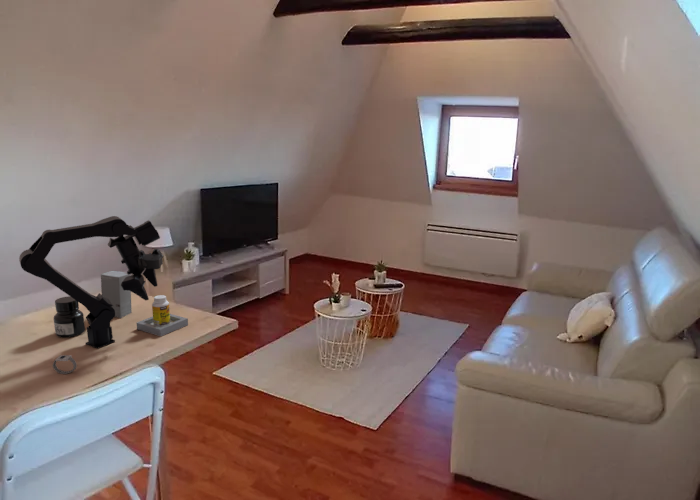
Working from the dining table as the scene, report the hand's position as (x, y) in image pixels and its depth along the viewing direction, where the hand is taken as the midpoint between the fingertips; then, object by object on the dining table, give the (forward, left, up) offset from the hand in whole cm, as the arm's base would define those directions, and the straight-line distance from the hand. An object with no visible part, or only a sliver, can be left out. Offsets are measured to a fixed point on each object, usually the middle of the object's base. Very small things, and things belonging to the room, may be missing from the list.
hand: (151, 292), depth 178 cm
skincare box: (+5, +26, -14) cm, 30 cm away
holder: (+5, +2, -14) cm, 15 cm away
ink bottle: (-15, +24, -14) cm, 32 cm away
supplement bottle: (+4, +2, -13) cm, 14 cm away
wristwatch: (-33, -2, -14) cm, 37 cm away
